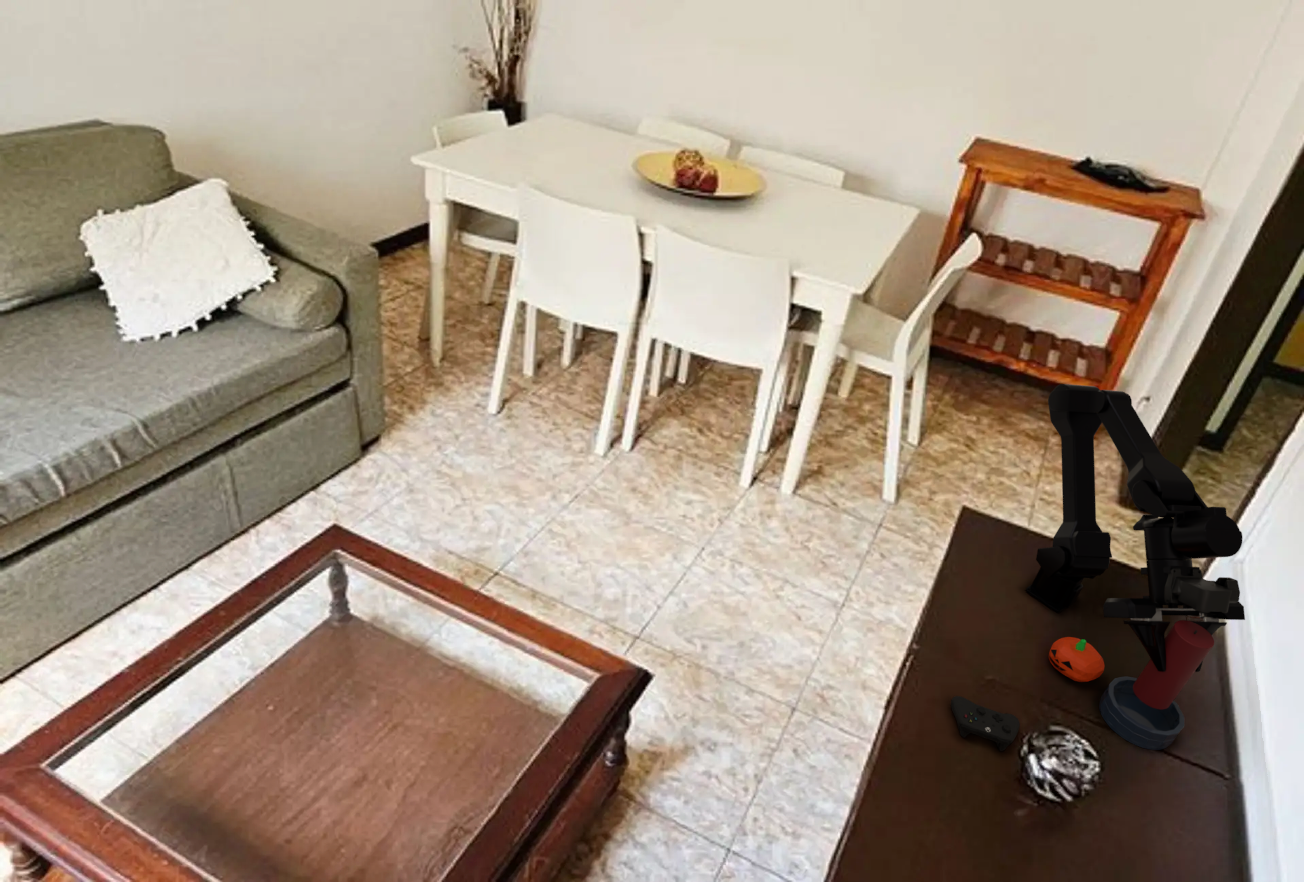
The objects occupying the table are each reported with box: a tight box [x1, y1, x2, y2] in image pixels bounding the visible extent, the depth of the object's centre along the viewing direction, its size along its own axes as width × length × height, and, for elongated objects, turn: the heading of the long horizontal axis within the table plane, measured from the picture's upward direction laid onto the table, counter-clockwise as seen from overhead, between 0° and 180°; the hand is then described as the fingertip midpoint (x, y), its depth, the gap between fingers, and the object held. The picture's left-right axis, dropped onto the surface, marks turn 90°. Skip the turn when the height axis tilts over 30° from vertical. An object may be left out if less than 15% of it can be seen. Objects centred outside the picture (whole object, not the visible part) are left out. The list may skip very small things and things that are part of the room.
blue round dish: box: [1098, 675, 1185, 751], centre depth 130 cm, size 11×11×4 cm
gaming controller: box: [950, 695, 1021, 752], centre depth 124 cm, size 10×5×6 cm
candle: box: [1133, 619, 1215, 709], centre depth 124 cm, size 5×5×14 cm
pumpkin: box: [1048, 636, 1105, 683], centre depth 136 cm, size 7×8×6 cm
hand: (1178, 671), depth 123 cm, fingers closed on candle, 5 cm apart
